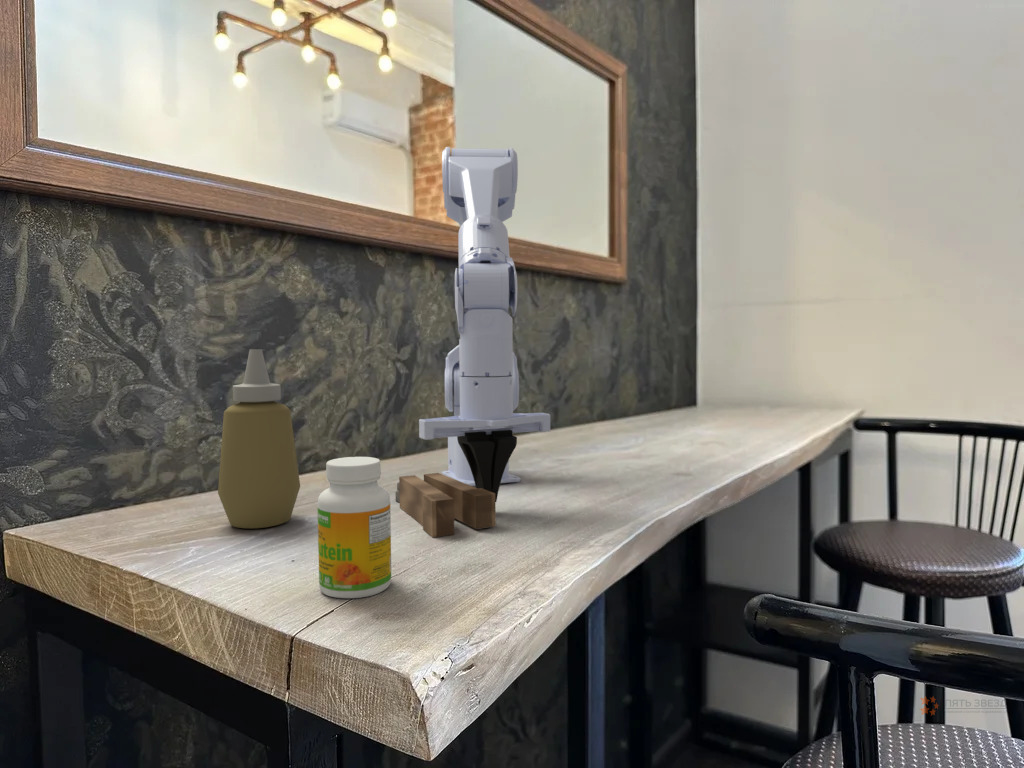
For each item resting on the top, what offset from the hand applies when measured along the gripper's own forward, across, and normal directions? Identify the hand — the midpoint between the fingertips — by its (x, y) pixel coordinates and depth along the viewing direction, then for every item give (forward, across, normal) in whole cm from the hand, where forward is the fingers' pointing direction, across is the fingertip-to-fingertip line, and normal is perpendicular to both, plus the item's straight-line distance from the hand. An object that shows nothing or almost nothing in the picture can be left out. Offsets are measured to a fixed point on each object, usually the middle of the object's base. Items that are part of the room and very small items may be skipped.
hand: (487, 501), depth 74 cm
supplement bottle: (+2, -18, -16) cm, 24 cm away
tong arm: (+1, -4, +3) cm, 5 cm away
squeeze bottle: (+2, -23, +7) cm, 24 cm away
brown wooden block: (+1, -6, +3) cm, 7 cm away
